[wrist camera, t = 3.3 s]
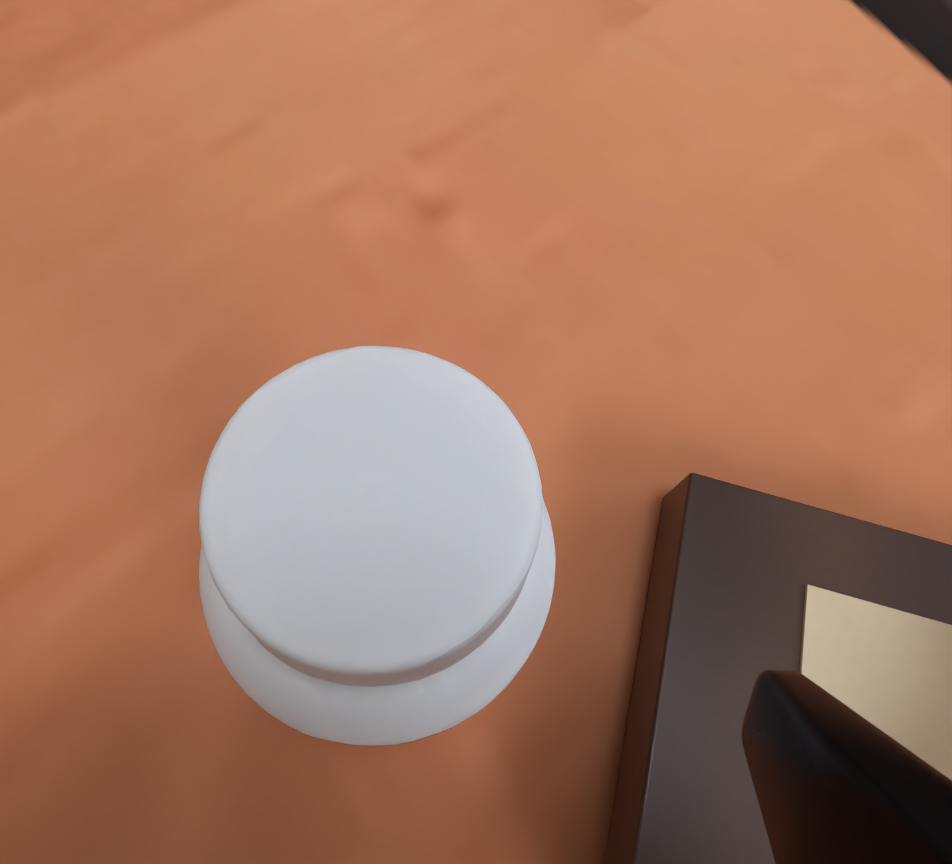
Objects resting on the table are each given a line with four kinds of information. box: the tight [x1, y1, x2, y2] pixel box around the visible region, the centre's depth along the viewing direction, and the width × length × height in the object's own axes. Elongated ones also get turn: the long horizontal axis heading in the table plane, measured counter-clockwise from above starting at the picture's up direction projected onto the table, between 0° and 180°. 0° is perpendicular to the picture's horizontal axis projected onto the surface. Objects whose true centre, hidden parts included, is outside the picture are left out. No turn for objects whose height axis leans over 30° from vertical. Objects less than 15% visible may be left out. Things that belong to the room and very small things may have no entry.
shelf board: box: [604, 473, 952, 864], centre depth 16 cm, size 12×10×2 cm
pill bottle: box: [199, 346, 556, 746], centre depth 13 cm, size 5×5×10 cm
